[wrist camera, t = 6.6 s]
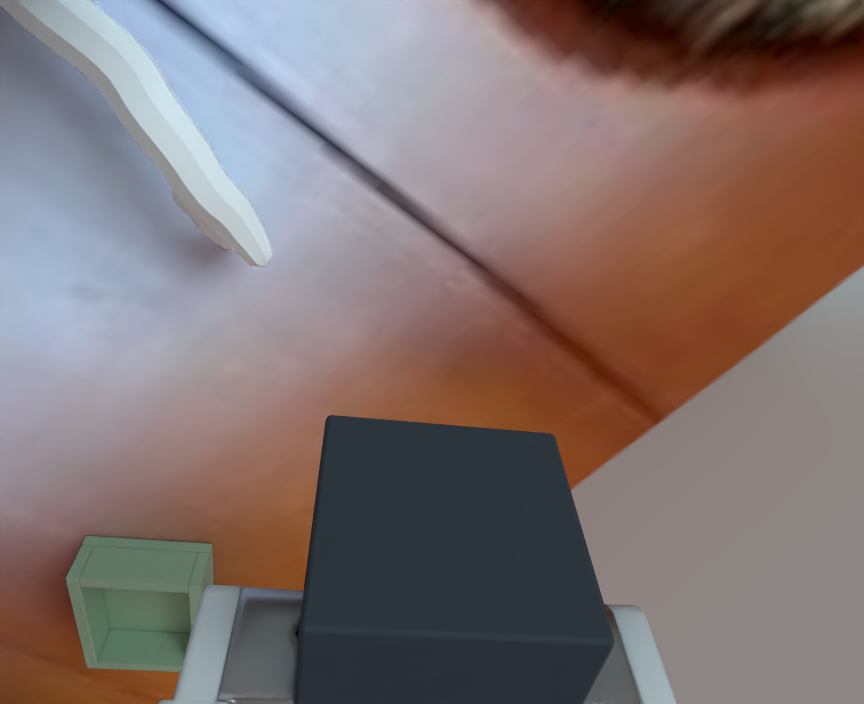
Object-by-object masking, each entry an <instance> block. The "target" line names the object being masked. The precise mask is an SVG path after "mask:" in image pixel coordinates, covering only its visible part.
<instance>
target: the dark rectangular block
mask: <svg viewBox="0 0 864 704" xmlns="http://www.w3.org/2000/svg"><path fill="white" fill-rule="evenodd" d="M614 642H615V641H614V636H613V633H612V630H611V626H610V623H609V619H608V616H607V613H606V609H605V606H604V602H603V599H602V596H601V592H600V589H599V585H598V582H597V579H596V575H595V572H594V569H593V565H592V562H591V558H590V555H589V552H588V548H587V545H586V541H585V538H584V534H583V531H582V528H581V525H580V521H579V518H578V514H577V511H576V508H575V504H574V501H573V497H572V494H571V490H570V487H569V483H568V480H567V477H566V473H565V470H564V467H563V463H562V460H561V456H560V453H559V450H558V446H557V443H556V439H555V436H554V435H553V434H549V433H537V432H525V431H513V430H502V429H490V428H478V427H466V426H454V425H442V424H430V423H418V422H406V421H394V420H382V419H370V418H358V417H346V416H334V415H331V416H328V417H327V419H326V422H325V429H324V437H323V445H322V453H321V460H320V468H319V476H318V484H317V491H316V499H315V507H314V515H313V522H312V530H311V538H310V546H309V553H308V561H307V569H306V576H305V584H304V592H303V600H302V607H301V615H300V623H299V634H298V650H297V666H296V681H295V697H294V704H583V703H584V701H585V699H586V697H587V695H588V693H589V692H590V690H591V688H592V686H593V684H594V682H595V680H596V678H597V677H598V675H599V673H600V671H601V669H602V667H603V665H604V664H605V662H606V660H607V658H608V656H609V654H610V652H611V650H612V649H613V647H614Z"/></svg>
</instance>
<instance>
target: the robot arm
mask: <svg viewBox="0 0 864 704" xmlns="http://www.w3.org/2000/svg"><path fill="white" fill-rule="evenodd" d="M303 592H304V590H290V589H273V588H256V587H243V586H228V585H206V587H205V589H204V591H203V593H202V595H201V598H200V601H199V605H198V609H197V612H196V616H195V620H194V623H193V627H192V631H191V634H190V638H189V642H188V645H187V649H186V653H185V656H184V660H183V664H182V667H181V671H180V675H179V678H178V682H177V686H176V689H175V693H174V697H173V700H161V701H160V702H159V703H158V704H294V697H295V681H296V666H297V650H298V634H299V623H300V615H301V607H302V600H303ZM604 606H605V609H606V613H607V616H608V619H609V623H610V626H611V630H612V633H613V636H614V641H615V642H614V647H613V649H612V650H611V652H610V654H609V656H608V658H607V660H606V662H605V664H604V665H603V667H602V669H601V671H600V673H599V675H598V677H597V678H596V680H595V682H594V684H593V686H592V688H591V690H590V692H589V693H588V695H587V697H586V699H585V701H584V703H583V704H677V703H676V701H675V698H674V695H673V692H672V689H671V686H670V684H669V681H668V678H667V675H666V672H665V670H664V667H663V664H662V661H661V658H660V656H659V653H658V650H657V647H656V644H655V642H654V639H653V636H652V633H651V630H650V628H649V625H648V622H647V619H646V616H645V614H644V612H643V611H642V610H641V609H640V608H639V607H637V606H634V605H605V604H604Z"/></svg>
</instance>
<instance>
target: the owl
mask: <svg viewBox="0 0 864 704" xmlns="http://www.w3.org/2000/svg"><path fill="white" fill-rule="evenodd" d="M0 6H1V7H3V8H4V9H5V10H6V11H7V12H8V13H9V14H10V15H11V16H12V17H13V18H14V19H15V20H16V21H18V22H19V23H20V24H21V25H22V26H23V27H24V28H25V29H27V30H28V31H29V32H30V33H31V34H33V35H34V36H35V37H36V38H38V39H39V40H40V41H41V42H43V43H44V44H45V45H46V46H48V47H49V48H50V49H52V50H53V51H54V52H56V53H57V54H58V55H59V56H61V57H62V58H63V59H65V60H66V61H67V62H68V63H70V64H71V65H72V66H74V67H75V68H76V69H78V70H79V71H80V72H81V73H83V74H84V75H85V76H86V77H87V78H89V79H90V80H91V81H92V82H93V83H94V84H95V85H96V86H97V87H98V88H99V90H100V91H101V93H102V94H103V96H104V97H105V98H106V100H107V101H108V103H109V105H110V106H111V108H112V109H113V111H114V113H115V114H116V116H117V118H118V119H119V121H120V122H121V123H122V125H123V126H124V127H125V129H126V130H127V132H128V133H129V134H130V136H131V137H132V138H133V139H134V140H135V142H136V143H137V144H138V145H139V146H140V148H141V149H142V150H143V151H144V152H145V153H146V155H147V156H148V157H149V158H150V159H151V161H152V162H153V163H154V164H155V166H156V167H157V168H158V169H159V171H160V172H161V173H162V175H163V176H164V177H165V179H166V180H167V182H168V183H169V185H170V186H171V187H172V191H173V197H174V200H175V202H176V203H177V205H178V206H179V207H180V208H181V209H182V210H183V211H184V212H185V213H186V214H187V215H188V216H189V217H190V218H191V219H192V221H193V223H194V224H195V226H196V227H197V229H198V230H199V231H200V232H201V233H202V234H203V235H205V236H206V237H207V238H209V239H210V240H212V241H214V242H215V243H217V244H218V246H220V247H222V248H223V249H225V250H231V249H234V250H235V251H236V252H237V253H238V254H239V255H240V256H241V257H242V258H243V259H244V260H245V261H246V262H247V263H248V264H249V265H250V266H261V267H267V265H268V263H269V261H270V259H271V257H272V254H273V253H272V249H271V246H270V243H269V240H268V238H267V235H266V232H265V230H264V228H263V226H262V224H261V222H260V220H259V218H258V216H257V214H256V212H255V210H254V208H253V206H252V204H251V202H250V200H249V199H248V197H247V196H246V194H245V193H244V191H243V190H242V189H241V188H240V186H239V185H238V184H237V183H236V182H235V181H234V180H233V179H232V178H231V176H230V175H229V174H228V173H227V171H226V170H225V169H224V168H223V166H222V164H221V163H220V161H219V159H218V157H217V155H216V153H215V152H214V150H213V148H212V146H211V145H210V143H209V142H208V140H207V139H206V137H205V135H204V134H203V132H202V131H201V130H200V128H199V127H198V125H197V124H196V123H195V121H194V120H193V119H192V117H191V116H190V115H189V113H188V112H187V111H186V109H185V108H184V107H183V105H182V104H181V103H180V101H179V100H178V98H177V97H176V95H175V93H174V92H173V90H172V88H171V87H170V85H169V83H168V81H167V79H166V77H165V76H164V74H163V73H162V71H161V69H160V68H159V66H158V65H157V63H156V61H155V60H154V59H153V58H152V57H151V55H150V54H149V53H148V52H147V51H146V49H145V48H144V47H143V46H142V45H141V43H140V42H139V41H138V40H137V39H136V38H135V37H134V36H133V35H131V34H130V33H129V32H128V31H127V30H126V29H125V28H124V27H123V26H122V25H121V24H119V23H118V22H117V21H116V20H114V19H113V18H112V17H111V16H109V15H108V14H107V13H106V12H105V11H103V10H102V9H101V8H100V7H98V6H97V5H96V4H95V3H93V2H92V1H91V0H0Z"/></svg>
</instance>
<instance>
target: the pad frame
mask: <svg viewBox="0 0 864 704" xmlns="http://www.w3.org/2000/svg"><path fill="white" fill-rule="evenodd" d="M66 583H67V587H68V592H69V596H70V600H71V604H72V608H73V612H74V616H75V621H76V625H77V629H78V633H79V637H80V641H81V645H82V650H83V654H84V658H85V662H86V666H87V668H99V669H121V670H145V671H170V672H180V671H181V667H182V664H183V660H184V656H185V653H186V649H187V645H188V642H189V638H190V634H191V631H192V627H193V623H194V620H195V616H196V612H197V609H198V605H199V601H200V598H201V595H202V593H203V591H204V589H205V587H206V585H214V574H213V550H212V544H208V543H193V542H177V541H162V540H146V539H131V538H116V537H100V536H86V537H85V539H84V541H83V543H82V546H81V548H80V550H79V552H78V554H77V556H76V558H75V560H74V562H73V564H72V566H71V569H70V571H69V573H68V575H67V577H66Z"/></svg>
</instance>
